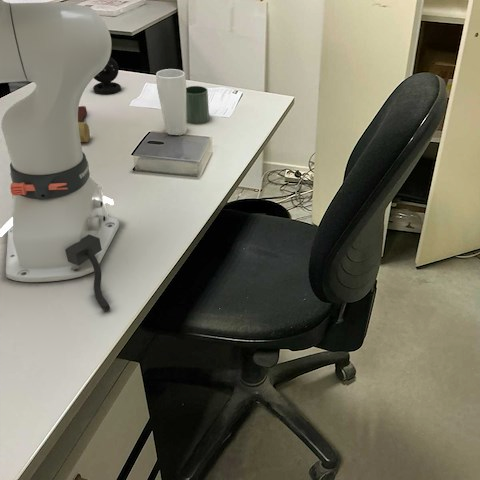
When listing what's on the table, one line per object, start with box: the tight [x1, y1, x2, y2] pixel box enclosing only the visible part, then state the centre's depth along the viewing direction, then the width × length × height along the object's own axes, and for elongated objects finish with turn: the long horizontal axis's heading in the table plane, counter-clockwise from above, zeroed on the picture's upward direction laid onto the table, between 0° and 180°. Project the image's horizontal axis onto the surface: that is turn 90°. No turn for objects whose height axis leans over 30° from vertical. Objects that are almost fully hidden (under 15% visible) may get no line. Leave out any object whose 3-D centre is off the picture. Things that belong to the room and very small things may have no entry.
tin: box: [186, 85, 210, 125], centre depth 144 cm, size 6×6×8 cm
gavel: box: [78, 105, 91, 143], centre depth 137 cm, size 21×5×10 cm
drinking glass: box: [155, 68, 188, 136], centre depth 134 cm, size 7×7×15 cm
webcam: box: [92, 56, 122, 95], centre depth 157 cm, size 8×8×10 cm
